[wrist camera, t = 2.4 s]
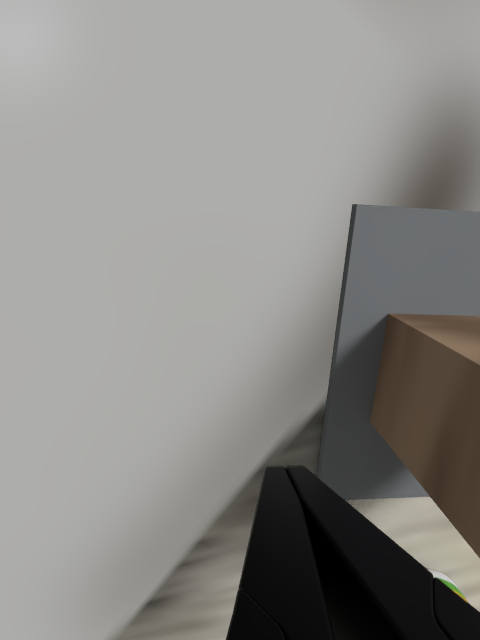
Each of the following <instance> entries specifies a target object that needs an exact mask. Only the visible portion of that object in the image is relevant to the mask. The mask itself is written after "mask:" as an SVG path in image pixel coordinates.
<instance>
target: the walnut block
mask: <svg viewBox="0 0 480 640" xmlns="http://www.w3.org/2000/svg"><path fill="white" fill-rule="evenodd" d="M370 423H371V424H372V425H373V426H374V428H375V429H376V430H377V431H378V432H379V434H380V435H381V436H382V437H383V439H384V440H385V441H386V442H387V444H388V445H389V446H390V447H391V449H392V450H393V451H394V452H395V454H396V455H397V456H398V457H399V459H400V460H401V461H402V462H403V463H404V465H405V466H406V467H407V468H408V470H409V471H410V472H411V473H412V475H413V476H414V477H415V478H416V480H417V481H418V482H419V483H420V485H421V486H422V487H423V488H424V490H425V491H426V492H427V493H428V495H429V496H430V497H431V498H432V499H433V501H434V502H435V503H436V504H437V506H438V507H439V508H440V509H441V511H442V512H443V513H444V514H445V516H446V517H447V518H448V519H449V521H450V522H451V523H452V524H453V526H454V527H455V528H456V529H457V530H458V532H459V533H460V534H461V535H462V537H463V538H464V539H465V540H466V542H467V543H468V544H469V545H470V547H471V548H472V549H473V550H474V552H475V553H476V554H477V555H478V557H479V558H480V316H464V315H424V314H388V319H387V324H386V330H385V336H384V342H383V348H382V354H381V360H380V366H379V372H378V377H377V383H376V389H375V395H374V401H373V407H372V413H371V419H370Z"/></svg>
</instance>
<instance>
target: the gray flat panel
mask: <svg viewBox="0 0 480 640" xmlns="http://www.w3.org/2000/svg"><path fill="white" fill-rule="evenodd" d="M388 314H424V315H464V316H480V212H472V211H471V212H470V211H456V210H440V209H439V210H438V209H424V208H407V207H391V206H390V207H389V206H374V205H357V204H353V205H352V212H351V219H350V227H349V235H348V242H347V250H346V257H345V266H344V273H343V280H342V288H341V295H340V303H339V311H338V318H337V326H336V333H335V341H334V348H333V356H332V364H331V371H330V379H329V387H328V394H327V401H326V409H325V417H324V424H323V432H322V439H321V447H320V455H319V462H318V470H317V477H318V478H319V479H320V480H321V481H322V482H324V483H325V484H326V485H327V486H328V487H330V488H331V489H332V490H333V491H334V492H336V493H337V494H338V495H339V496H340V497H341V498H343V499H344V500H351V499H378V498H405V497H430V496H429V495H428V493H427V492H426V491H425V490H424V488H423V487H422V486H421V485H420V483H419V482H418V481H417V480H416V478H415V477H414V476H413V475H412V473H411V472H410V471H409V470H408V468H407V467H406V466H405V465H404V463H403V462H402V461H401V460H400V459H399V457H398V456H397V455H396V454H395V452H394V451H393V450H392V449H391V447H390V446H389V445H388V444H387V442H386V441H385V440H384V439H383V437H382V436H381V435H380V434H379V432H378V431H377V430H376V429H375V428H374V426H373V425H372V424H371V423H370V419H371V413H372V407H373V401H374V395H375V389H376V383H377V377H378V372H379V366H380V360H381V354H382V348H383V342H384V336H385V330H386V324H387V319H388Z"/></svg>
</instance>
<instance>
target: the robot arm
mask: <svg viewBox="0 0 480 640" xmlns="http://www.w3.org/2000/svg"><path fill="white" fill-rule="evenodd" d="M226 640H480V612H479V611H477V610H476V609H475V608H474V607H472V606H471V605H470V604H469V603H467V602H466V601H465V600H464V599H463V598H461V597H460V596H459V595H458V594H456V593H455V592H454V591H453V590H452V589H450V588H449V587H448V586H447V585H446V584H444V583H443V582H442V581H441V580H440V579H438V578H437V577H435V578H433V574H432V573H431V572H430V571H429V570H427V569H426V568H425V567H424V566H423V565H421V564H420V563H419V562H418V561H417V560H415V559H414V558H413V557H412V556H411V555H410V554H408V553H407V552H406V551H405V550H404V549H402V548H401V547H400V546H399V545H398V544H396V543H395V542H394V541H393V540H392V539H390V538H389V537H388V536H387V535H386V534H384V533H383V532H382V531H381V530H380V529H378V528H377V527H376V526H375V525H374V524H373V523H371V522H370V521H369V520H368V519H367V518H365V517H364V516H363V515H362V514H361V513H359V512H358V511H357V510H356V509H355V508H353V507H352V506H351V505H350V504H349V503H347V502H346V501H345V500H344V499H343V498H341V497H340V496H339V495H338V494H337V493H336V492H334V491H333V490H332V489H331V488H330V487H328V486H327V485H326V484H325V483H324V482H322V481H321V480H320V479H319V478H318V477H316V476H315V475H314V474H313V473H312V472H310V471H309V470H308V469H307V468H306V467H304V466H302V465H287V466H285V467H283V466H266V467H265V470H264V474H263V479H262V483H261V488H260V492H259V497H258V502H257V506H256V511H255V515H254V520H253V524H252V529H251V534H250V538H249V543H248V547H247V552H246V556H245V561H244V566H243V570H242V575H241V579H240V584H239V590H238V592H237V596H236V601H235V606H234V610H233V614H232V618H231V622H230V626H229V630H228V633H227V637H226Z"/></svg>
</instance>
